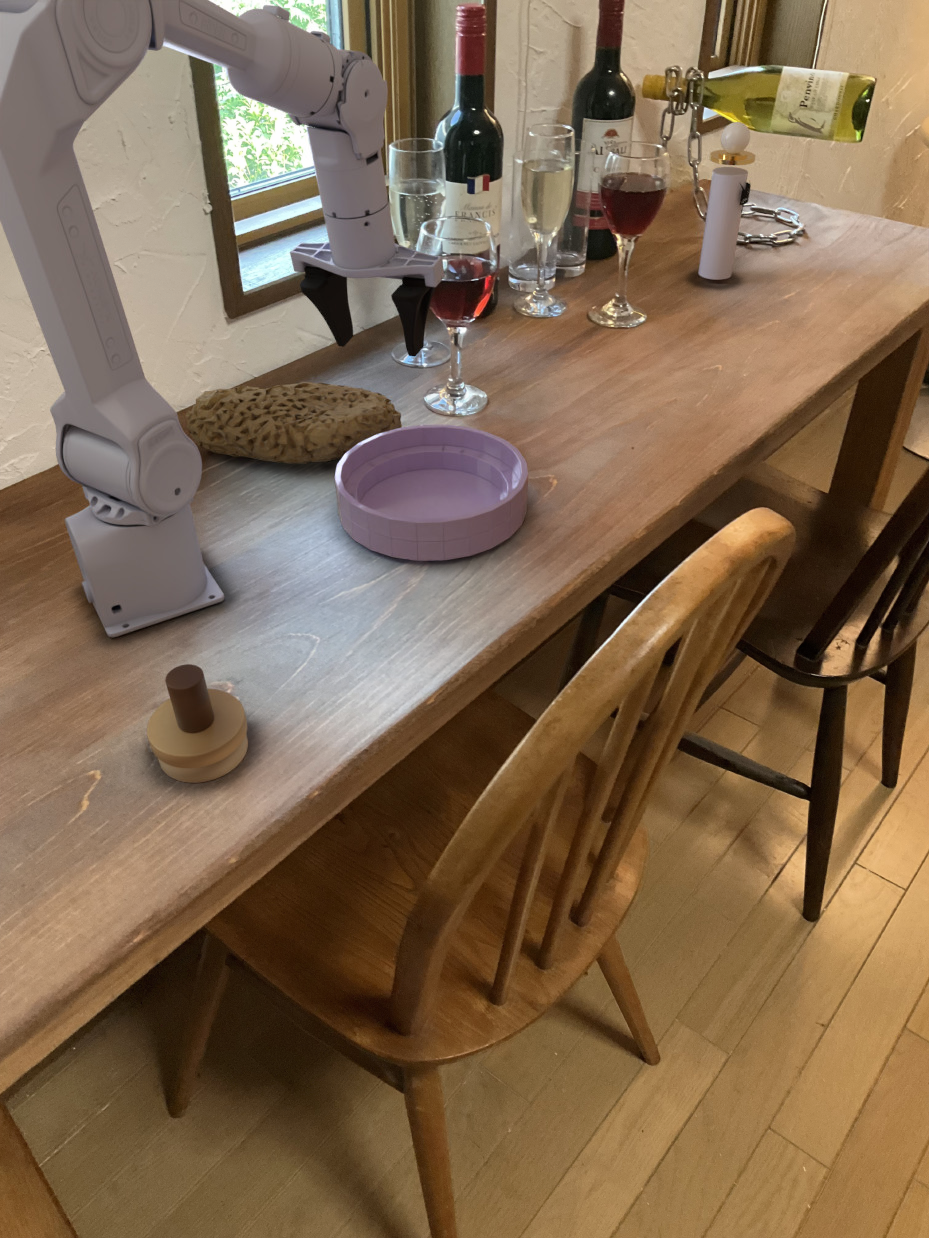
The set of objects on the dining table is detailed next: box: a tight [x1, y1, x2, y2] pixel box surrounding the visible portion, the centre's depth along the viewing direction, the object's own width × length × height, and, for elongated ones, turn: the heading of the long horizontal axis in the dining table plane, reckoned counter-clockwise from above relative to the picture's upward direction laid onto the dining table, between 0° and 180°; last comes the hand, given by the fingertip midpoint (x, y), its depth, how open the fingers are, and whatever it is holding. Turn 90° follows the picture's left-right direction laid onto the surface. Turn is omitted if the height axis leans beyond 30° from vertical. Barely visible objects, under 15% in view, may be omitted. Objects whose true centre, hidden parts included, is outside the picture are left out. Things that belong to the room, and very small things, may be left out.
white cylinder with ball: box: [697, 121, 756, 281], centre depth 128 cm, size 6×6×20 cm
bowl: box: [333, 424, 529, 562], centre depth 87 cm, size 17×17×4 cm
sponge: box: [185, 381, 403, 465], centre depth 96 cm, size 13×8×20 cm
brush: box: [146, 663, 249, 784], centre depth 64 cm, size 6×6×7 cm
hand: (380, 346), depth 92 cm, fingers open, 7 cm apart
